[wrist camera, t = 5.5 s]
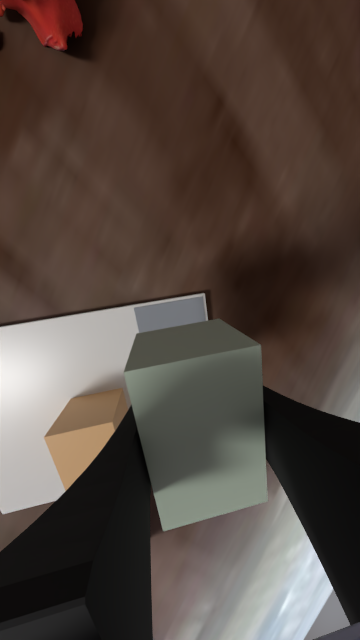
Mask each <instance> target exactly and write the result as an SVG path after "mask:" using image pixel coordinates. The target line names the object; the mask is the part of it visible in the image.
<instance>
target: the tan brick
mask: <svg viewBox="0 0 360 640" xmlns="http://www.w3.org/2000/svg"><path fill="white" fill-rule="evenodd" d="M127 411H128V407H127V403H126V399H125V396H124V392H123V388H119V389H114V390H109V391H105V392H100V393H95V394H90V395H85V396H80V397H76V398H71V399H70V400H69V402H68V403H67V405H66V406H65V408H64V409H63V410H62V412H61V413H60V415H59V416H58V418H57V419H56V420H55V422H54V423H53V425H52V426H51V428H50V429H49V431H48V432H47V433H46V435H45V436H44V439H45V442H46V444H47V447H48V449H49V452H50V454H51V457H52V459H53V461H54V464H55V466H56V469H57V471H58V474H59V476H60V479H61V481H62V483H63V486H64V488H65V491H66V490H67V489H68V488H69V487H70V486H71V485H72V484H73V483H74V482H75V480H76V479H77V478H78V477H79V476H80V475H81V474H82V473H83V472H84V471H85V470H86V468H87V467H88V466H89V465H90V464H91V463H92V461H93V460H94V459H95V458H96V456H97V455H98V454H99V453H100V451H101V450H102V449H103V447H104V446H105V445H106V443H107V442H108V440H109V439H110V437H111V436H112V435H113V433H114V432H115V430H116V429H117V427H118V426H119V424H120V422H121V421H122V419H123V418H124V416H125V414H126V413H127Z"/></svg>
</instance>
